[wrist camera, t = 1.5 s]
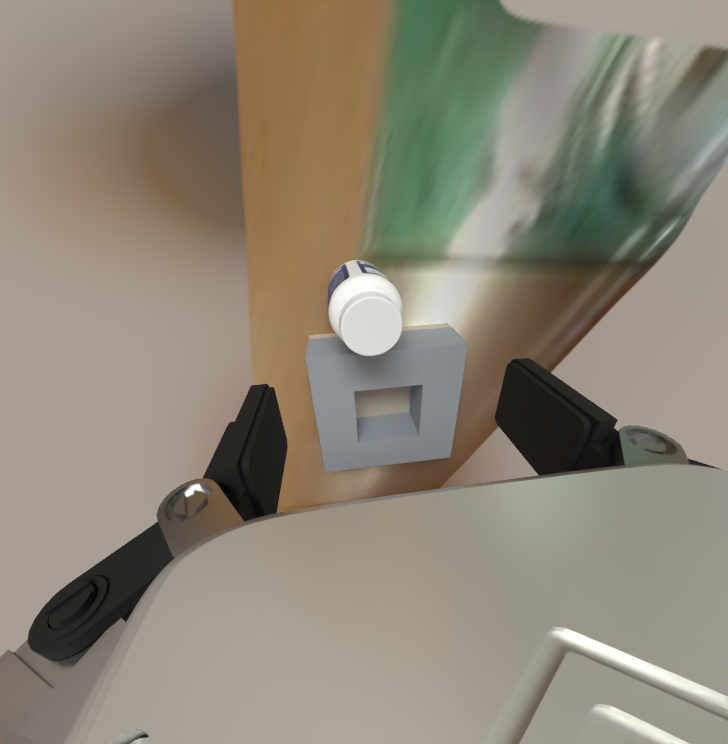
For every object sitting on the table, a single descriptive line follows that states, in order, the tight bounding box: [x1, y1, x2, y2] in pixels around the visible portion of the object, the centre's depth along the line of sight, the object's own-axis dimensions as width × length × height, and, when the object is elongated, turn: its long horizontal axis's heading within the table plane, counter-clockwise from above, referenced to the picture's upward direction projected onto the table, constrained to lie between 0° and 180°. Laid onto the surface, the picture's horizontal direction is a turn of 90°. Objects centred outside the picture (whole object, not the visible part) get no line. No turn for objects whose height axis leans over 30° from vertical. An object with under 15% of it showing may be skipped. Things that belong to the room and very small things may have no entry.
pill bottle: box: [328, 260, 403, 356], centre depth 21 cm, size 5×5×10 cm
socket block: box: [306, 324, 468, 473], centre depth 29 cm, size 14×14×5 cm
